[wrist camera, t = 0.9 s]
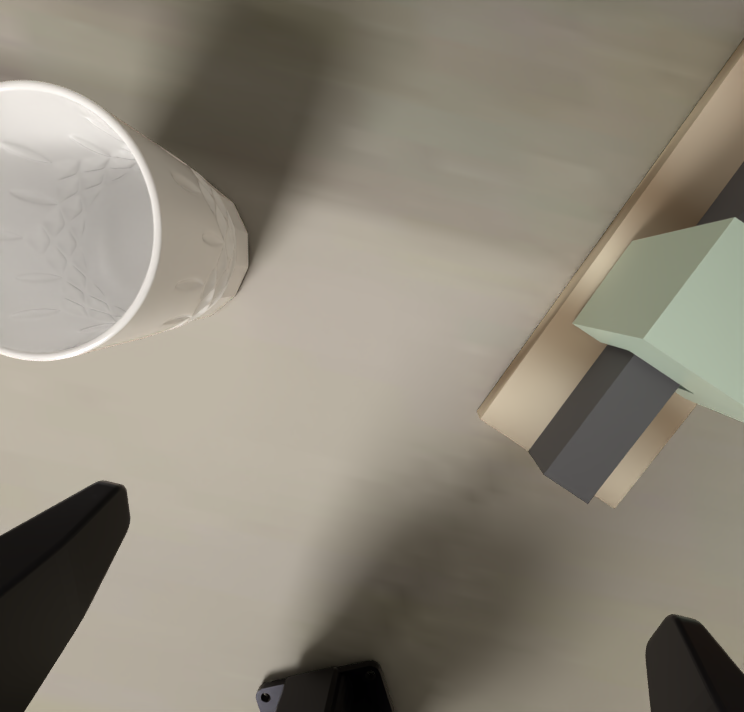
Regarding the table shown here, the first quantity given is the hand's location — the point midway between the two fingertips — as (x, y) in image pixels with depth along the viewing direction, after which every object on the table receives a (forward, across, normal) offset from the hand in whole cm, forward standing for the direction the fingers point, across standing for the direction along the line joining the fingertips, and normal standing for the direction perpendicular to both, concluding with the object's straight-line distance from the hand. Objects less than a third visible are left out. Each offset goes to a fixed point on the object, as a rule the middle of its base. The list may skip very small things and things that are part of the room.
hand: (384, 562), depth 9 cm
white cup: (+17, +12, +3) cm, 21 cm away
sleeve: (+16, -9, +1) cm, 18 cm away
